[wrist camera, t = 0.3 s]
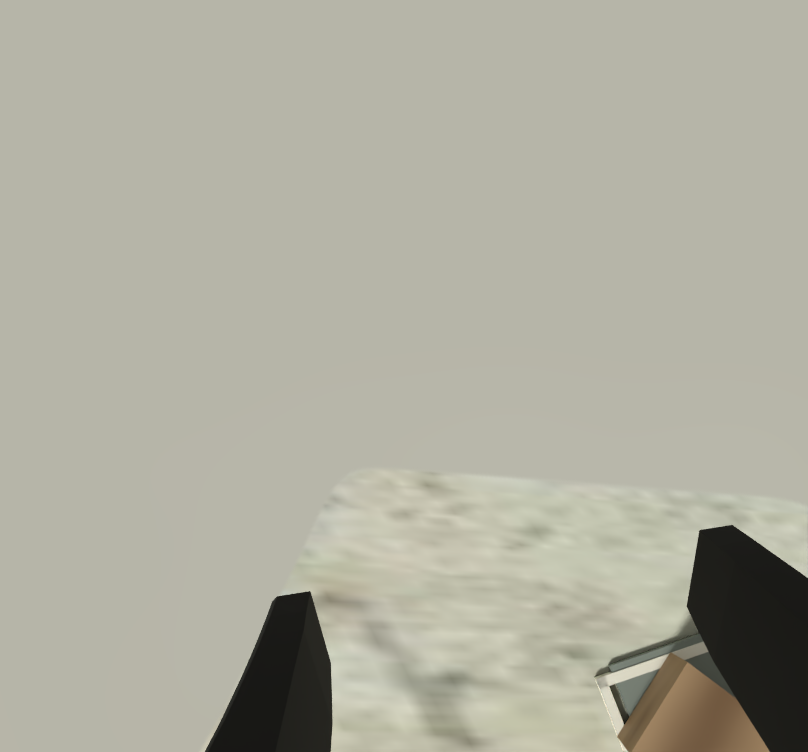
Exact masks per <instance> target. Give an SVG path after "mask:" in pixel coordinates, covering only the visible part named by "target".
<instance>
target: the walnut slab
mask: <svg viewBox="0 0 808 752" xmlns="http://www.w3.org/2000/svg"><path fill="white" fill-rule="evenodd" d="M617 737H618V738H619V740H620V741H621V742H622V744H623V745H624V747H625V748H626V749H627V751H628V752H770V751H769V750H768V748H767V746H766V745H765V743H764V742H763V740H762V738H761V737H760V735H759V734H758V732H757V731H756V729H755V727H754V726H753V724H752V723H751V721H750V720H749V718H748V716H747V715H746V713H745V712H744V710H743V708H742V707H741V705H740V704H739V702H738V700H737V699H736V698H735V697H733V696H732V695H731V694H729V693H728V692H727V691H725V690H724V689H723V688H721V687H720V686H719V685H717V684H716V683H715V682H713V681H712V680H711V679H709V678H708V677H707V676H705V675H704V674H703V673H701V672H700V671H699V670H697V669H696V668H695V667H693V666H692V665H691V664H689V663H688V662H687V661H685V660H683V659H681V658H680V657H678V656H676V655H675V654H673V653H671V652H670V653H669V655H668V657H667V658H666V660H665V661H664V663H663V665H662V666H661V668H660V669H659V671H658V672H657V674H656V676H655V677H654V679H653V680H652V682H651V684H650V685H649V687H648V688H647V690H646V691H645V693H644V695H643V696H642V698H641V699H640V701H639V703H638V704H637V706H636V707H635V709H634V710H633V712H632V714H631V715H630V717H629V718H628V720H627V722H626V723H625V725H624V726H623V728H622V729H621V731H620V733H619V734H618V736H617Z"/></svg>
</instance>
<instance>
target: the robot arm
mask: <svg viewBox="0 0 808 752" xmlns="http://www.w3.org/2000/svg"><path fill="white" fill-rule="evenodd" d="M687 608H688V610H689V612H690V614H691V616H692V618H693V620H694V623H695V625H696V627H697V629H698V631H699V633H700V636H701V638H702V640H703V642H704V644H705V646H706V648H707V650H708V652H709V654H710V656H711V658H712V660H713V662H714V663H715V665H716V667H717V668H718V670H719V671H720V673H721V675H722V676H723V678H724V680H725V681H726V683H727V684H728V686H729V688H730V689H731V691H732V692H733V694H734V696H735V697H736V699H737V700H738V702H739V704H740V705H741V707H742V708H743V710H744V712H745V713H746V715H747V716H748V718H749V720H750V721H751V723H752V724H753V726H754V727H755V729H756V731H757V732H758V734H759V735H760V737H761V738H762V740H763V742H764V743H765V745H766V746H767V748H768V750H769V751H770V752H808V578H807V577H805V576H804V575H803V574H801V573H800V572H798V571H797V570H796V569H794V568H793V567H791V566H790V565H788V564H787V563H786V562H784V561H783V560H781V559H780V558H779V557H777V556H776V555H774V554H773V553H771V552H770V551H769V550H767V549H766V548H764V547H763V546H762V545H760V544H759V543H757V542H756V541H754V540H753V539H752V538H750V537H749V536H747V535H746V534H744V533H743V532H742V531H740V530H739V529H737V528H736V527H734V526H733V525H730V526H723V527H717V528H711V529H704V530H700V531H699V537H698V543H697V549H696V555H695V561H694V567H693V573H692V578H691V584H690V590H689V596H688V602H687ZM331 736H332V687H331V662H330V659H329V655H328V652H327V648H326V645H325V641H324V638H323V634H322V631H321V627H320V624H319V620H318V617H317V613H316V610H315V606H314V603H313V599H312V596H311V592H310V591H309V592H303V593H296V594H290V595H284V596H277V597H276V598H275V599H274V601H273V602H272V604H271V607H270V609H269V612H268V615H267V617H266V620H265V623H264V625H263V628H262V630H261V633H260V635H259V638H258V640H257V643H256V645H255V647H254V650H253V652H252V655H251V657H250V659H249V661H248V664H247V666H246V668H245V671H244V673H243V675H242V677H241V679H240V682H239V684H238V686H237V688H236V690H235V692H234V694H233V696H232V699H231V701H230V703H229V705H228V707H227V709H226V711H225V713H224V715H223V718H222V720H221V722H220V724H219V726H218V728H217V730H216V732H215V733H214V735H213V737H212V739H211V741H210V743H209V745H208V747H207V749H206V751H205V752H330V751H331Z"/></svg>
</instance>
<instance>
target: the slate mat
mask: <svg viewBox="0 0 808 752" xmlns="http://www.w3.org/2000/svg"><path fill="white" fill-rule="evenodd" d="M670 652H671V653H673V654H675V655H676V656H678V657H680V658H681V659H683V660H685V661H687V662H688V663H689V664H691V665H692V666H693V667H695V668H696V669H697V670H699V671H700V672H701V673H703V674H704V675H705V676H707V677H708V678H709V679H711V680H712V681H713V682H715V683H716V684H717V685H719V686H720V687H721V688H723V689H724V690H725V691H727V692H728V693H729V694H731V695H732V696H733V697H735V696H734V694H733V692H732V691H731V689H730V688H729V686H728V684H727V683H726V681H725V680H724V678H723V676H722V675H721V673H720V671H719V670H718V668H717V667H716V665H715V663H714V662H713V660H712V658H711V656H710V654H709V652H708V650H707V648H706V646H705V644H704V642H703V640H702V638H701V636H700V633H699V634H696V635H693V636H690V637H687V638H684V639H681V640H678V641H676V642H673V643H670V644H667V645H664V646H661V647H658V648H655V649H652V650H650V651H647V652H644V653H641V654H638V655H635V656H632V657H629V658H626V659H623V660H621V661H618V662H615V663H612V664H609V665H608V666H609V668H610V671H611V672H608V673H605V674H602V675H599V676H596V677H594V678H595V680H596V683H597V685H598V688H599V691H600V693H601V696H602V698H603V701H604V703H605V706H606V709H607V711H608V714H609V716H610V719H611V721H612V724H613V727H614V729H615V732H616V734H617V736H618V734H619V733H620V731H621V729H622V728H623V726H624V723H623V720H622V718H621V715H620V713H619V710H618V707H617V705H616V702H615V700H614V697H613V695H612V692H611V690H610V687H609V686H611V685H613V684H616V686H617V688H618V691H619V693H620V696H621V698H622V701H623V703H624V706H625V708H626V711H627V713H628V716H629V717H630V715H631V714H632V712H633V710H634V709H635V707H636V706H637V704H638V703H639V701H640V699H641V698H642V696H643V695H644V693H645V691H646V690H647V688H648V687H649V685H650V684H651V682H652V680H653V679H654V677H655V676H656V674H657V672H658V671H659V669H660V668H661V666H662V665H663V663H664V661H665V660H666V658H667V657H668V655H669V653H670ZM735 698H736V697H735ZM618 739H619V738H618ZM619 742H620V745H621V747H622V750H623V752H628V751H627V749H626V748H625V747H624V745H623V744H622V742H621V741H620V740H619Z"/></svg>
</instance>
